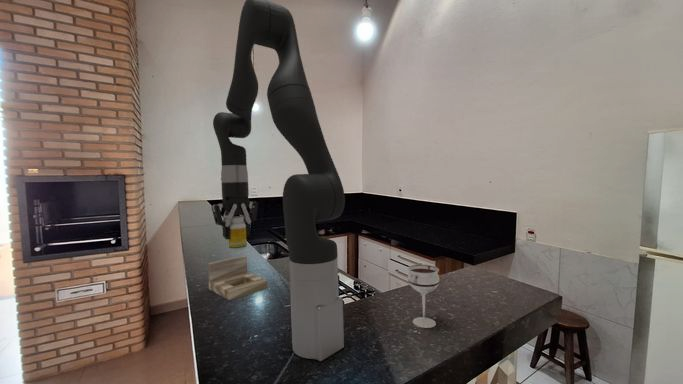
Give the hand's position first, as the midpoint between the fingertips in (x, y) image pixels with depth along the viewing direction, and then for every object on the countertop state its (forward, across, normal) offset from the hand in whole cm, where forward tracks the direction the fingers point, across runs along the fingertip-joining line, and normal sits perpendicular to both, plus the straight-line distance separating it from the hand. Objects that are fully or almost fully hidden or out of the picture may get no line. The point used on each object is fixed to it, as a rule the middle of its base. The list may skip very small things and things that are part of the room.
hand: (237, 237), depth 89 cm
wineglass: (+16, +17, -52) cm, 57 cm away
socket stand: (+16, 0, 0) cm, 16 cm away
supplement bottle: (+4, 0, 0) cm, 4 cm away
